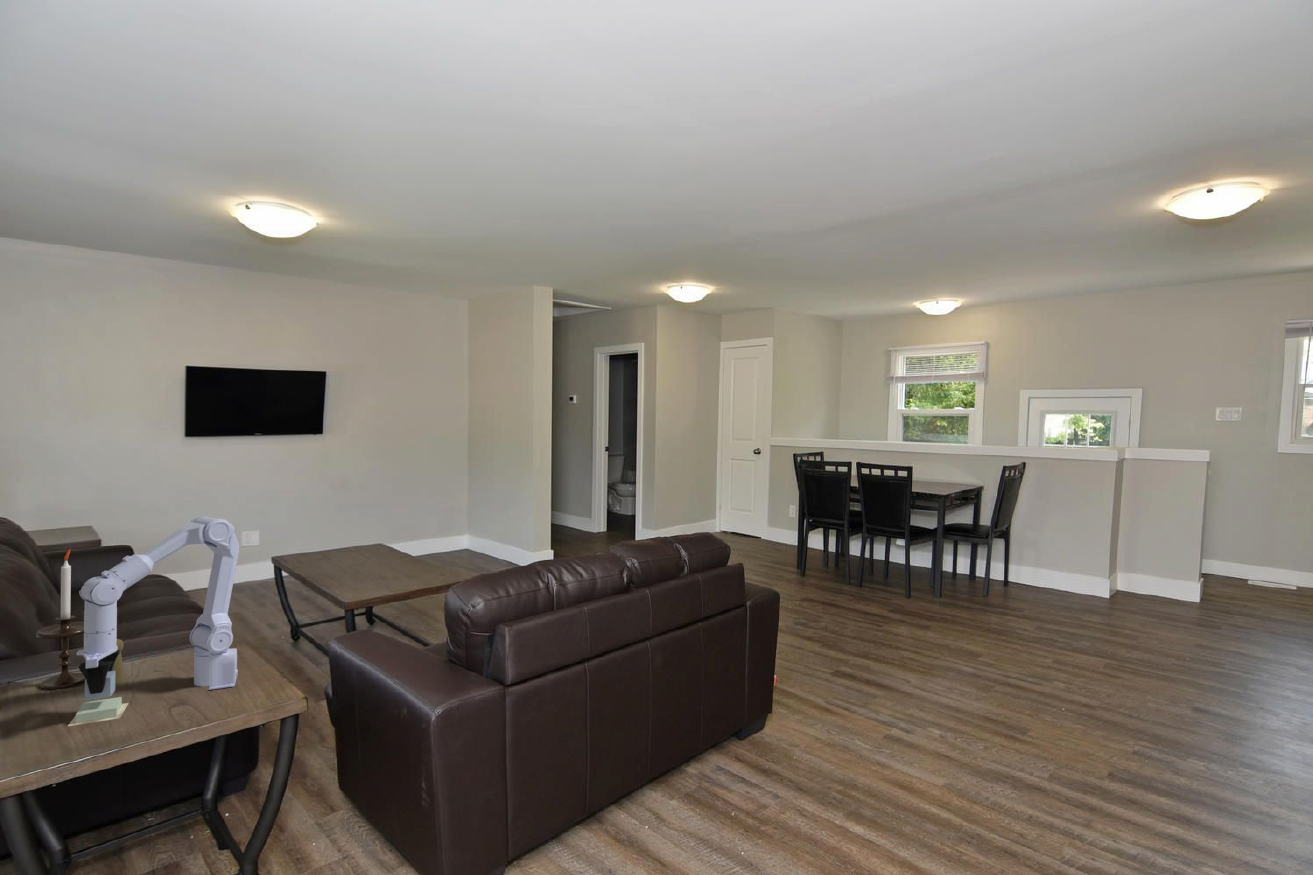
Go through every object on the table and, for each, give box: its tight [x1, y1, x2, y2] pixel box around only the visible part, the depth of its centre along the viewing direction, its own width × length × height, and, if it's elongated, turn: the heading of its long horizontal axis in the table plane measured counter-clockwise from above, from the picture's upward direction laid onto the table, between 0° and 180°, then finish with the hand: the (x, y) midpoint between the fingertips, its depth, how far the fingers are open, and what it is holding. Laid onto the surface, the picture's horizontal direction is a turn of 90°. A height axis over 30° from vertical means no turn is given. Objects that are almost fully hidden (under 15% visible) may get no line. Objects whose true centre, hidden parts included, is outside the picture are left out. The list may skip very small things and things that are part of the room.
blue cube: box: [84, 671, 116, 701], centre depth 148 cm, size 4×4×4 cm
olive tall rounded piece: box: [112, 638, 126, 684], centre depth 168 cm, size 6×6×11 cm
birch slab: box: [67, 702, 130, 727], centre depth 148 cm, size 9×9×2 cm
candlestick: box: [35, 548, 86, 691], centre depth 167 cm, size 11×11×35 cm
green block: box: [75, 696, 123, 723], centre depth 148 cm, size 7×7×2 cm
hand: (99, 688), depth 148 cm, fingers closed on blue cube, 4 cm apart
